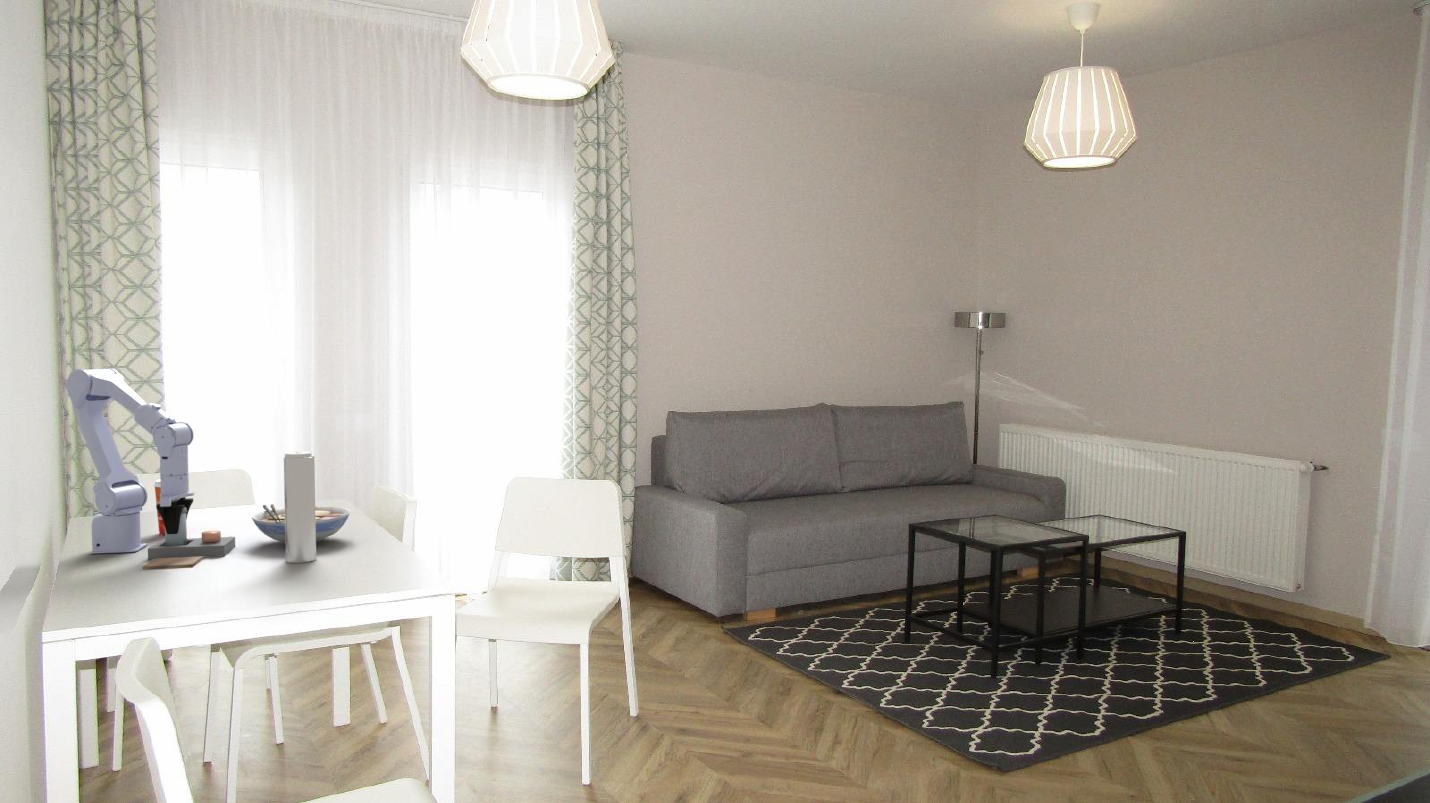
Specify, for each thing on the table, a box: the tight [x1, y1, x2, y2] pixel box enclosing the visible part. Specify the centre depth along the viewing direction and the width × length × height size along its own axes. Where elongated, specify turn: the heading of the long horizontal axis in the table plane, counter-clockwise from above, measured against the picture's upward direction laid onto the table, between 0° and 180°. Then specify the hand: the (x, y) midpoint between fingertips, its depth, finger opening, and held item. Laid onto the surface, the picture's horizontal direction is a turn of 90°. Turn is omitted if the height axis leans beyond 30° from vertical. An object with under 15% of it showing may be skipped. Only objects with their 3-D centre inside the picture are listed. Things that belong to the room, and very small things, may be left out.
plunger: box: [201, 530, 222, 542], centre depth 221 cm, size 4×4×2 cm
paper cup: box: [153, 479, 187, 536], centre depth 242 cm, size 8×8×14 cm
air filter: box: [283, 451, 317, 564], centre depth 213 cm, size 6×6×25 cm
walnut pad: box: [142, 556, 204, 570], centre depth 210 cm, size 10×8×1 cm
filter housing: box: [147, 536, 236, 560], centre depth 220 cm, size 16×10×2 cm, turn 104°
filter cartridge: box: [164, 507, 188, 546], centre depth 219 cm, size 5×5×9 cm
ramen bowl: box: [251, 504, 352, 544], centre depth 233 cm, size 25×23×8 cm
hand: (175, 531), depth 219 cm, fingers closed on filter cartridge, 4 cm apart
